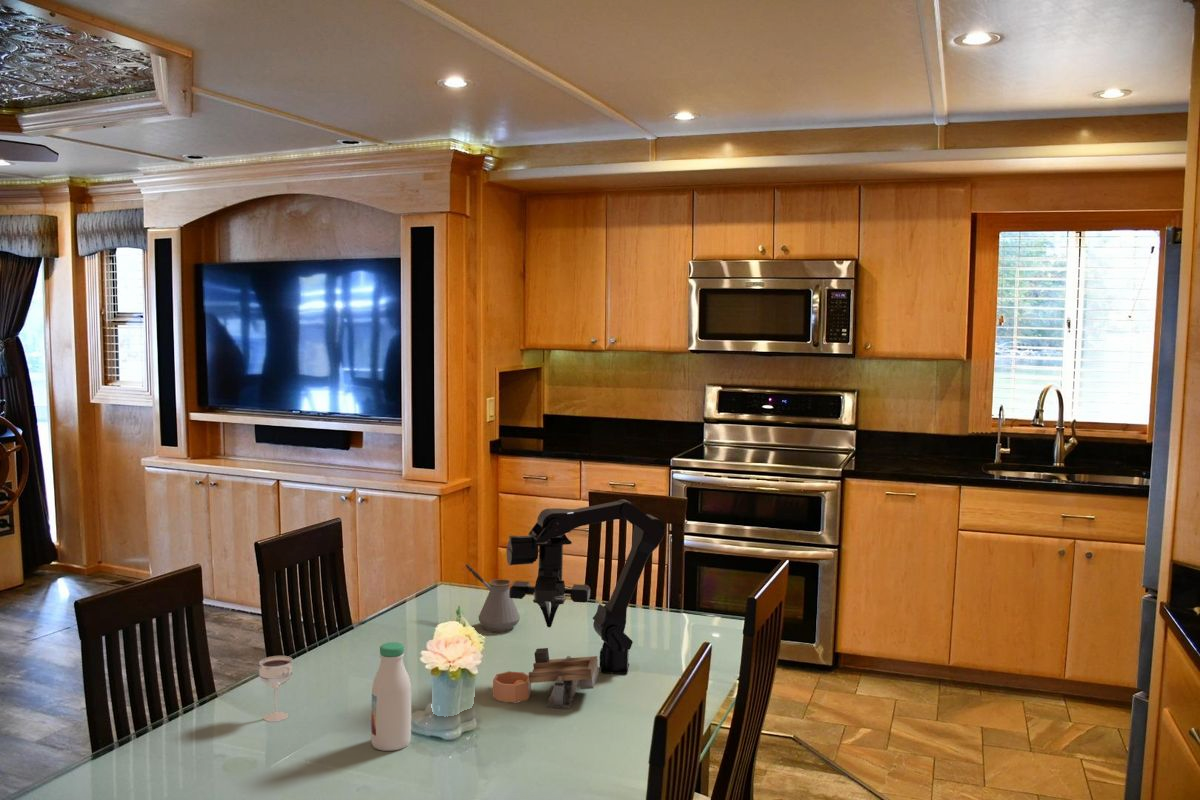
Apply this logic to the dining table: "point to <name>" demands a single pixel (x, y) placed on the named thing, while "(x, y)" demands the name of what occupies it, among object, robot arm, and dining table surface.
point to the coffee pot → (497, 605)
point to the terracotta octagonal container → (511, 687)
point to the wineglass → (275, 679)
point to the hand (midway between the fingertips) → (549, 626)
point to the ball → (519, 681)
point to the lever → (564, 669)
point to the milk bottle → (391, 701)
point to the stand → (563, 694)
